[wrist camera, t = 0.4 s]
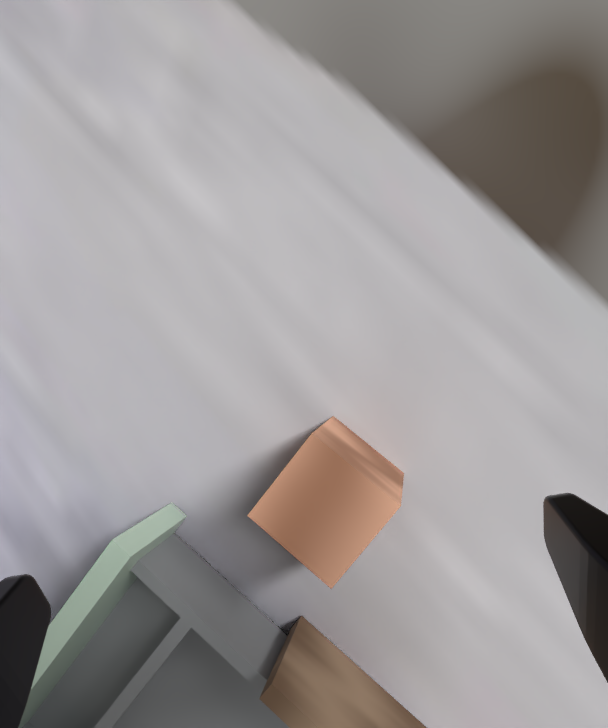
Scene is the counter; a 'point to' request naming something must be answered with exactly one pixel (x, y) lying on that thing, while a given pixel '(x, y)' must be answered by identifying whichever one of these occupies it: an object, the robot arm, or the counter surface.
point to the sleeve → (327, 687)
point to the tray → (155, 643)
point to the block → (330, 500)
